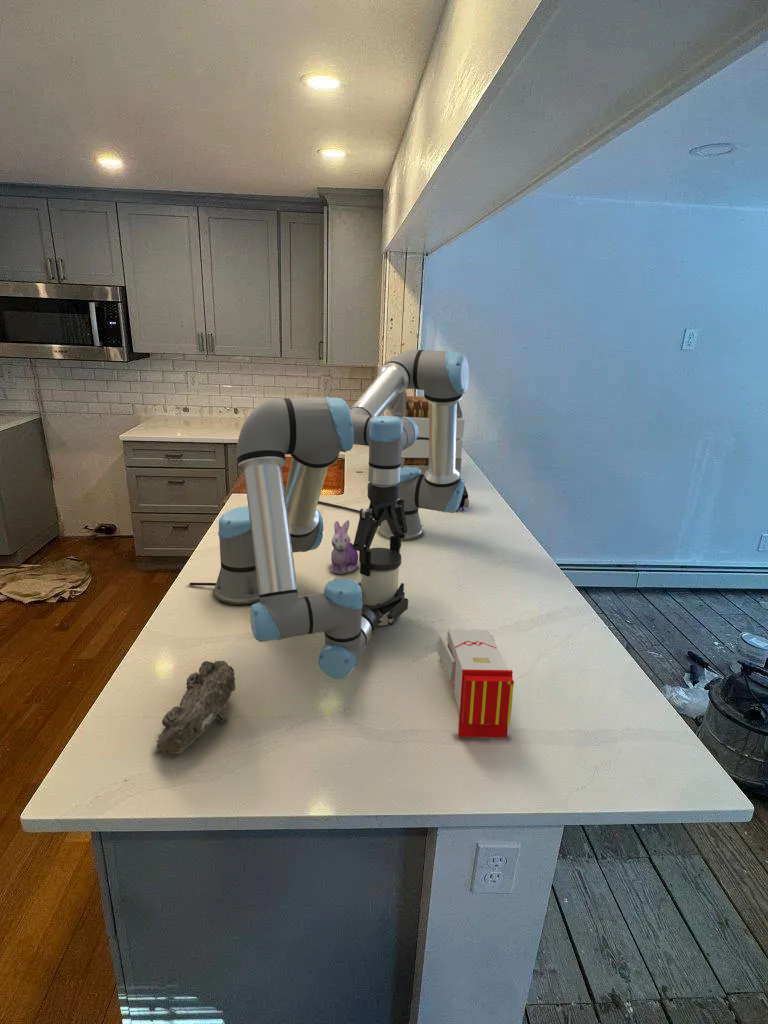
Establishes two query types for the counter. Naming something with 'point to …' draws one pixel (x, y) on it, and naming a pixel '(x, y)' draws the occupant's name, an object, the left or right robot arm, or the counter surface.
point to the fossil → (197, 706)
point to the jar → (379, 587)
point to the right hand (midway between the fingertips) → (379, 567)
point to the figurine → (343, 550)
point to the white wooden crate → (422, 429)
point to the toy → (478, 682)
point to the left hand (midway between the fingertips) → (383, 584)
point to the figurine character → (464, 500)
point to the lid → (384, 559)
